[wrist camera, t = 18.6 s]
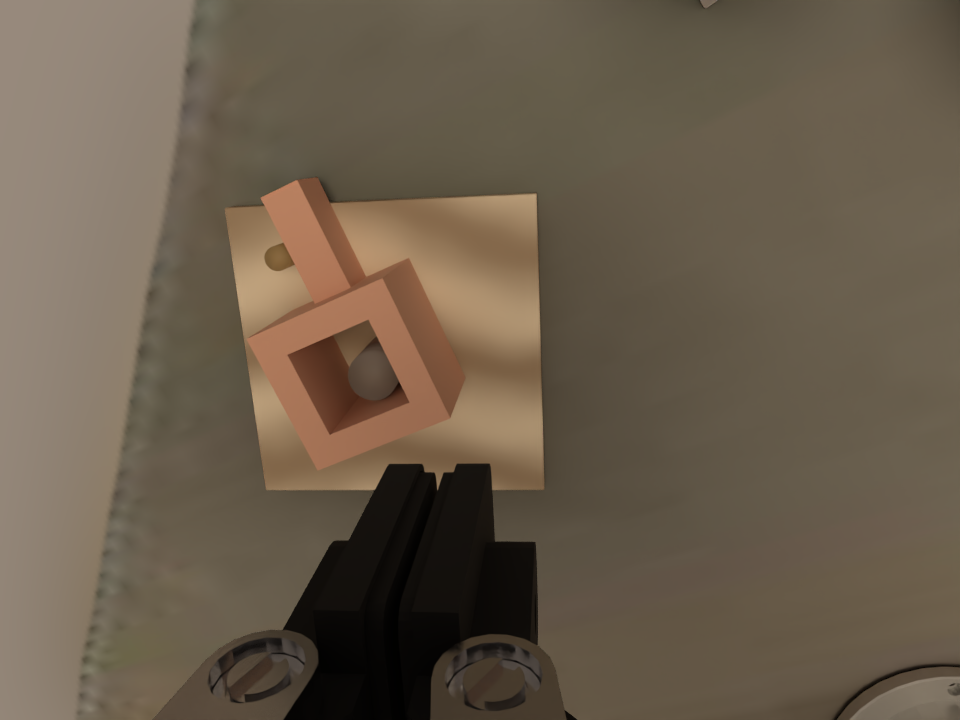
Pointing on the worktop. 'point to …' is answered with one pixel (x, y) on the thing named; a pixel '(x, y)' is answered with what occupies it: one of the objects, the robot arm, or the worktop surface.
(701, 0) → the milk
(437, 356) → the square nut with handle
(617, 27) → the worktop surface
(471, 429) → the post base
